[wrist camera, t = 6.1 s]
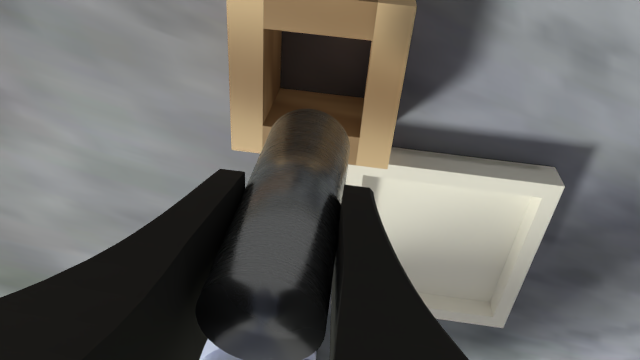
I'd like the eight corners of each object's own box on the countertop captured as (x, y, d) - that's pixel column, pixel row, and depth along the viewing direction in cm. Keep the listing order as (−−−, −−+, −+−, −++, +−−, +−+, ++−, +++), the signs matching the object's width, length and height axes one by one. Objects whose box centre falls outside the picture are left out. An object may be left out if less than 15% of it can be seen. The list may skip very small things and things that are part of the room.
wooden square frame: (387, 126, 21) (387, 169, 18) (253, 110, 22) (231, 149, 19) (412, -19, 18) (416, 6, 15) (251, -35, 18) (226, -14, 15)
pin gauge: (344, 185, 15) (318, 374, 10) (266, 173, 15) (197, 353, 10) (355, 115, 14) (333, 288, 8) (270, 102, 14) (192, 265, 8)
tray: (497, 306, 26) (503, 328, 25) (333, 283, 27) (330, 303, 26) (554, 167, 21) (565, 186, 20) (351, 142, 22) (348, 159, 21)
